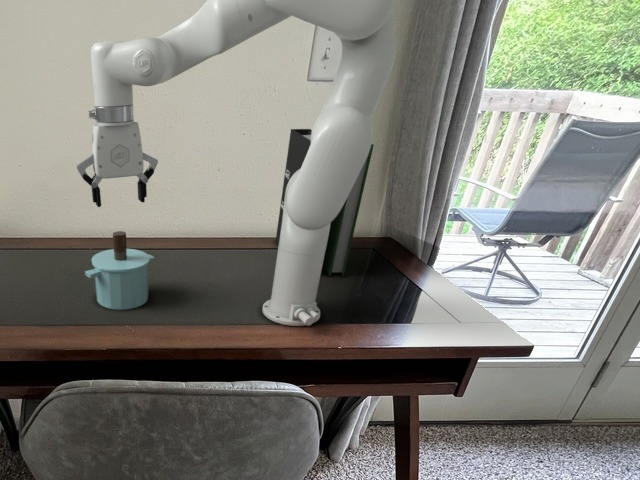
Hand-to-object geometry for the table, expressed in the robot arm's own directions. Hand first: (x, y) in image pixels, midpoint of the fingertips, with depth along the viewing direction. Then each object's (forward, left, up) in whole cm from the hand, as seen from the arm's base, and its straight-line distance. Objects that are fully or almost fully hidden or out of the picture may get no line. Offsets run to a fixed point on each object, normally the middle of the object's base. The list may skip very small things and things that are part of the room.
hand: (120, 203), depth 104 cm
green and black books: (+11, -57, -23) cm, 62 cm away
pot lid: (0, 0, -13) cm, 13 cm away
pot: (0, 0, -23) cm, 23 cm away
